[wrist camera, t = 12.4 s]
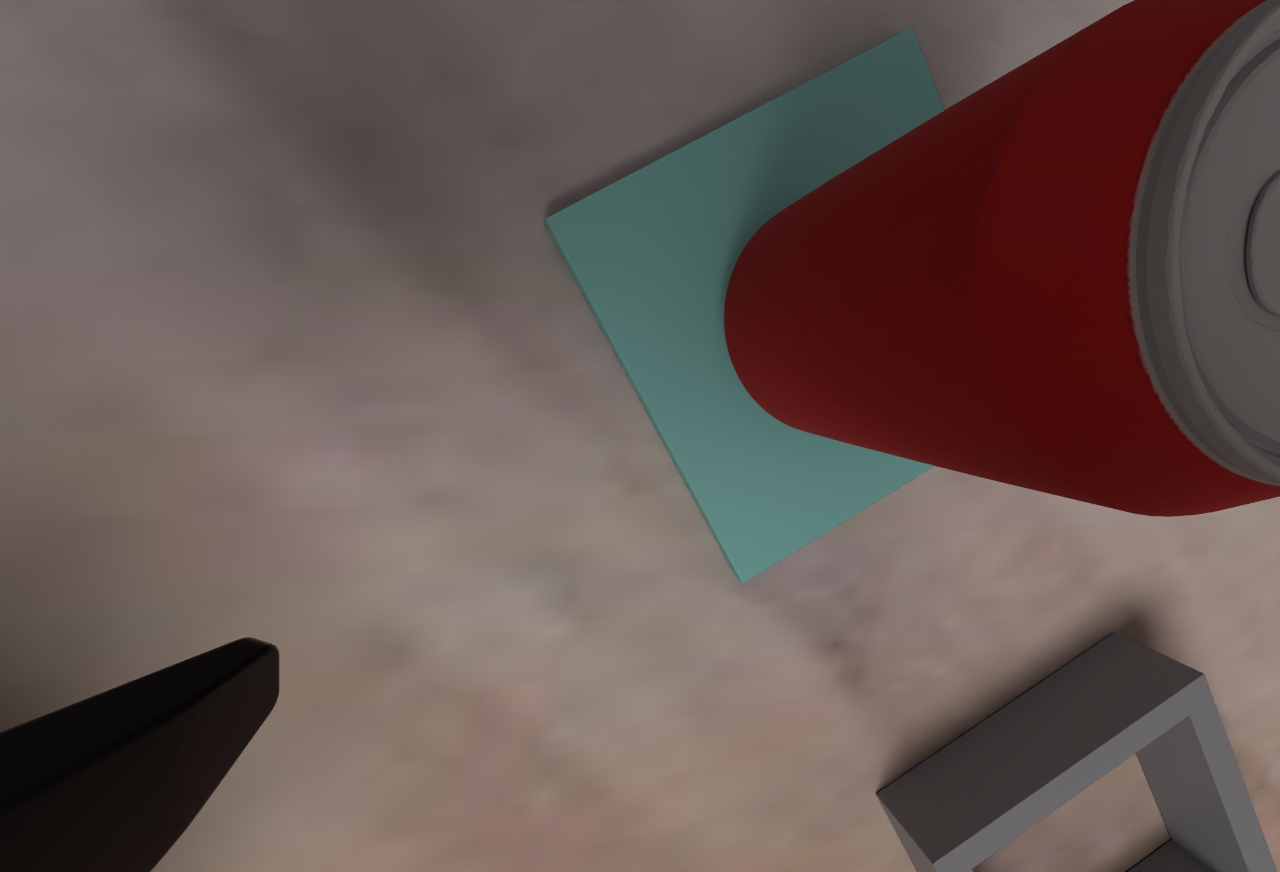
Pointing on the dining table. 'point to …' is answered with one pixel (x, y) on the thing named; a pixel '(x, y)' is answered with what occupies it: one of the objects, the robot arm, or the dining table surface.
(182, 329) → the dining table surface
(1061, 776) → the can holder
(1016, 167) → the beverage can
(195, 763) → the robot arm
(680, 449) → the teal mat
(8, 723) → the dining table surface
